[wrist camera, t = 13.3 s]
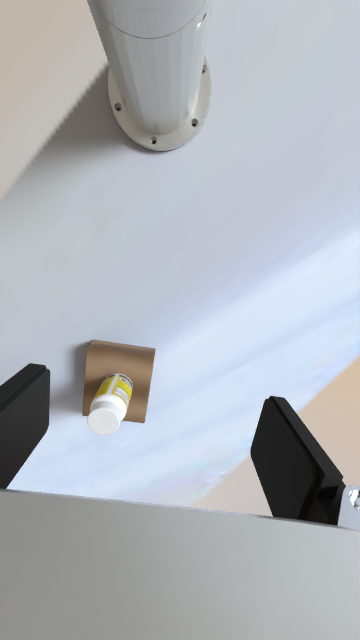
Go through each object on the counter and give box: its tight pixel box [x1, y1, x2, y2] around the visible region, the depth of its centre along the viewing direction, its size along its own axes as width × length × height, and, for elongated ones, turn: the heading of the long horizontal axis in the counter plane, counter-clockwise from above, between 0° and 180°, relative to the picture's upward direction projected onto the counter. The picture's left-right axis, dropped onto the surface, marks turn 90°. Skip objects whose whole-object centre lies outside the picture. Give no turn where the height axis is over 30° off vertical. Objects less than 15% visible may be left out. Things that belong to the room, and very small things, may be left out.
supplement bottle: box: [87, 373, 133, 435], centre depth 34 cm, size 5×5×8 cm
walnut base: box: [82, 340, 155, 423], centre depth 40 cm, size 12×10×3 cm
